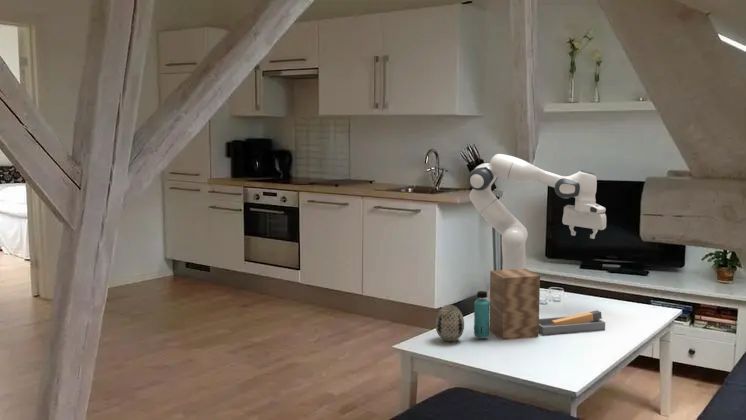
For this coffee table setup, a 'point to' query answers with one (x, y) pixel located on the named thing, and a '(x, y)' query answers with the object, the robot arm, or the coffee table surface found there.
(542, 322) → the tray
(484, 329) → the beverage bottle
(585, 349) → the coffee table surface
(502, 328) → the stand
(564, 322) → the marker
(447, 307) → the decorative egg
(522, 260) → the robot arm
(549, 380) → the coffee table surface
